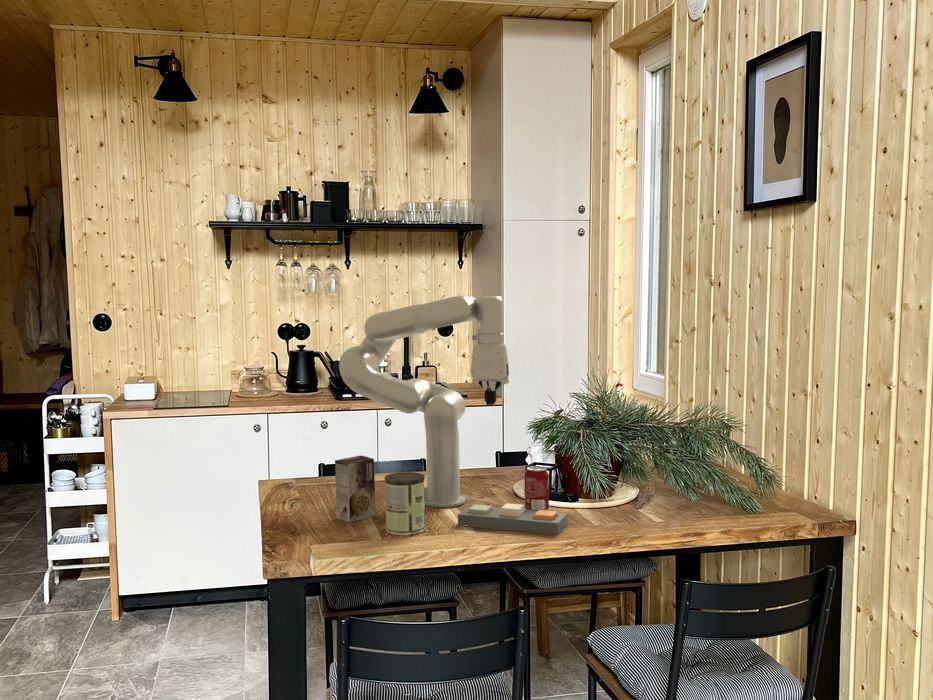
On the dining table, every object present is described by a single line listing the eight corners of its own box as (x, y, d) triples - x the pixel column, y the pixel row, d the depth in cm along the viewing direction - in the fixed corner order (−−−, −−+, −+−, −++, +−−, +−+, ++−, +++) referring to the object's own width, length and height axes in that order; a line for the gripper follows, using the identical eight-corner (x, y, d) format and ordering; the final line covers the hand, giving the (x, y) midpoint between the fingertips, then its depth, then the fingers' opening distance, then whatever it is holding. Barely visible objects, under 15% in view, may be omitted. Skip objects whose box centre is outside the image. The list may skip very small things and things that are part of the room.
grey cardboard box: (361, 511, 247) (360, 454, 246) (376, 516, 242) (375, 458, 241) (335, 518, 241) (333, 459, 239) (349, 522, 236) (348, 463, 235)
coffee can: (392, 523, 235) (391, 471, 234) (429, 525, 232) (429, 472, 231) (380, 534, 225) (379, 479, 224) (419, 536, 222) (418, 481, 221)
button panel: (457, 525, 232) (457, 514, 232) (471, 515, 241) (470, 505, 241) (557, 534, 223) (557, 523, 222) (567, 524, 232) (567, 513, 232)
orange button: (534, 524, 227) (534, 514, 227) (539, 519, 232) (539, 509, 232) (552, 525, 226) (552, 516, 226) (557, 520, 230) (557, 511, 230)
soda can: (547, 514, 242) (547, 471, 241) (523, 513, 244) (522, 470, 243) (550, 508, 249) (550, 466, 248) (526, 507, 250) (526, 465, 249)
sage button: (468, 518, 234) (468, 508, 233) (474, 513, 238) (474, 504, 238) (485, 519, 232) (485, 510, 232) (491, 515, 236) (491, 505, 236)
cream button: (501, 517, 230) (501, 507, 230) (506, 512, 235) (506, 503, 235) (518, 518, 229) (518, 509, 229) (524, 514, 233) (524, 504, 233)
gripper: (460, 340, 248) (461, 405, 250) (511, 341, 243) (511, 407, 244) (469, 338, 255) (470, 401, 257) (519, 339, 250) (519, 403, 251)
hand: (490, 404), depth 251 cm, fingers closed
